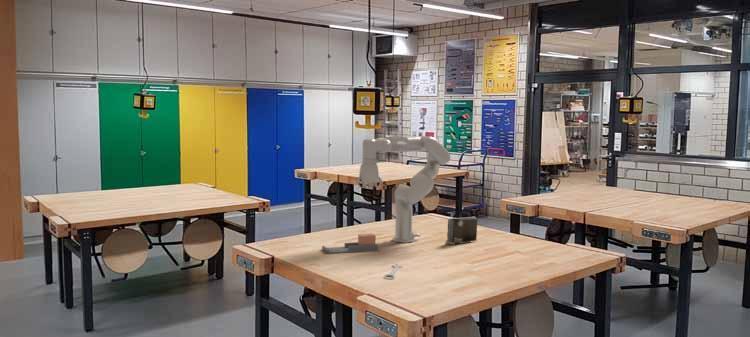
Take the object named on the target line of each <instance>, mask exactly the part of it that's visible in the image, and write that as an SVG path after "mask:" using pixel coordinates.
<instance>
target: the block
mask: <svg viewBox="0 0 750 337" xmlns="http://www.w3.org/2000/svg"><path fill="white" fill-rule="evenodd" d="M376 237H377V236H376V235H375V234H374V233H361V234H360V233H359V234H358V236H357V242H358V245H372V244H376Z"/></svg>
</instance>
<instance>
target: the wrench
mask: <svg viewBox="0 0 750 337" xmlns="http://www.w3.org/2000/svg"><path fill="white" fill-rule="evenodd" d="M401 267H402V268H403V267H404V265H401V264H400V265H398V263H393V264H392V265H391V268H393V269H392V270H391V271H390V272H389V274H385V275H384V276H383V278H385V280H394V278H396V277H395V274H396V272H397V271H398V270H399V269H401ZM397 269H398V270H397ZM387 276H391V277H387Z"/></svg>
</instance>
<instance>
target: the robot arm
mask: <svg viewBox="0 0 750 337" xmlns="http://www.w3.org/2000/svg"><path fill="white" fill-rule="evenodd" d="M389 152H399V153H408V152H411V153H412V152H427V155H426V164H425V166H424V167H423V168H421V170H420V171H418V172H417V173H416V174H414V175H413V176H412V177H411V178H410V181H409V185H405V184H403V185H402V184H401V185H398V186H397V187H396V188H395V190H394V200H395V223H394V224H395V225H394V226H395V229H394V230H395V231H394V234H395V236H393V237H392V241H393V242H396V243H403V244H405V243H413V242H415V241H416V240H415V239H416V238H417V237H418V238H420V237H421V234H420V233H419V232H417V233H416V232H413V213H414V212H413V210H414V209H413V205H414V204H417V203H418V202H420V201H421V200H422V199H424V198H425V197H426V196H427V195H428V194H430V193H431V191H432V190H433V189H434V185H435V181H434V179H435V178H436V177H437V176H438V174H439V172H440V170H439V169H440V165H441V166H442V165H443V166H444V165H447V164H449V162H450V161H451V154H450V152H449V151H448V149H447V148H445V147H444V145H443V144H441V143H440V141H438V140H437V139H436V138H435V137H433V136H427V135H426V136H425V135H417V136H399V137H398V136H396V137H379V138H374V139H371V138H369V139H368V138H366V139H363V141H362V163H361V164H360V167H359V168H360V169H359V175H358V178H357V179H356V180H355V182H356V184H358V186H359V187H360V189H361V190H360V193H361V195H362V196H365V195H366V187H365V186H366V184H368V183H370V184H372V194H373V195H374V196H375V195H376V194H377V192H378V191H377V189H378V187H379V185H381V183H383V180H382V178H381V177H380V176H379V166H378V164H377V163H379V162H380V160H379V159H377V153H381V154H384V153H385V154H386V153H389Z"/></svg>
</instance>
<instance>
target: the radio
mask: <svg viewBox="0 0 750 337" xmlns="http://www.w3.org/2000/svg"><path fill="white" fill-rule="evenodd" d="M477 235H478V218H477V217H476V216H467V217H466V216H465V217H452V218H451V217H450V218H448V219H447V233H446V237H447V239H446V240H445V243H446V244H450V245H454V246H455V245H459V244H460V245H461V244H468V243H472V242H471V241H474V240H476V241H477V238H478V237H477ZM474 242H475V241H474Z"/></svg>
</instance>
